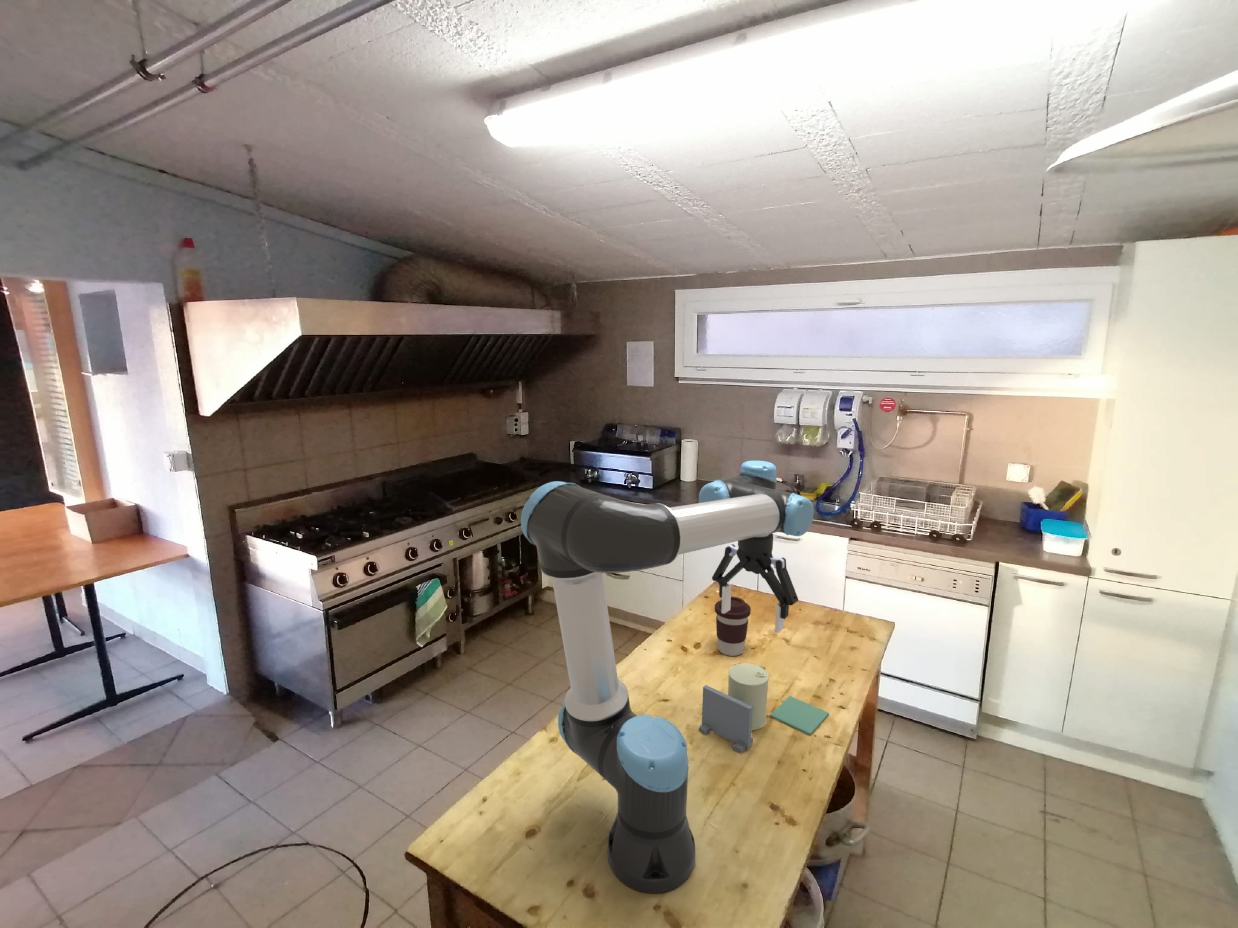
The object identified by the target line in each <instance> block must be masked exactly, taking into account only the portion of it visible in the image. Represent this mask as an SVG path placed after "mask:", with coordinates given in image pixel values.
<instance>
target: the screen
mask: <svg viewBox="0 0 1238 928" xmlns="http://www.w3.org/2000/svg"><path fill="white" fill-rule="evenodd" d="M701 707H702V711H701V714H702V715H701V725H700V726H698V732H699V733H702V734H703V735H705V736H707V735H708V734H709V733H711V732H712V733H714V734H716V735H717V736H720V737H721V738H724V739H725V740H728V741H729V742H731V743H733V746H732V747H733V748H732V750H733V751H736V752H737V753H739V754H742V753H744V752H745V750H746V751H749V750H750V748H751V747H752V744H753V743H754V738H753V737H752V731H753V730H752V714H753V707H752V706H750V705H748V704H746V703H744V702H742V701H740V700H737V699H735V698H733V697H731V696H729V695H728V693H724V692H723V691H720V690H717V689H716V688H713V687H711V686H710V685H708V684H707V685H706V684H705V685H704V686H703V687H702V706H701Z"/></svg>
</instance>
